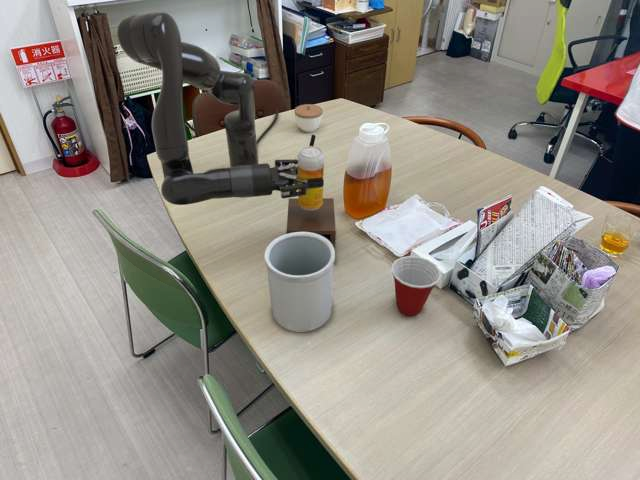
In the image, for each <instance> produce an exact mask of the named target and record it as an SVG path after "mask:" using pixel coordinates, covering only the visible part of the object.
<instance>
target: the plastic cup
mask: <svg viewBox="0 0 640 480" xmlns="http://www.w3.org/2000/svg"><path fill="white" fill-rule="evenodd" d="M391 274H392V277H393V282H394V293H395V302H396V303H395V305H396V309H397V311H398V312H399V313H400V314H401V315H404V316H406V317H415V316H416V317H417V315H419V314H420V313H421V312H422V310H423V308H424V306H425V304H426V303H427V301H428V299H429V297H430V294H431V292H432V291H433V288H434V287H435V286H436V285H437V284H438V283H439V281H440V279H441V277H442V272H441V270H440V268H439V267H438V265H437V264H436V263H434V262H433V261H431V260H430V259H428V258H424V257H422V256H415V255H408V256H401V257H399V258H397V259H395V260H394V261H393V263H392V264H391Z"/></svg>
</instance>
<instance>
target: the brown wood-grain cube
mask: <svg viewBox="0 0 640 480" xmlns="http://www.w3.org/2000/svg"><path fill="white" fill-rule="evenodd" d="M334 201H335V200H334V198H333V197H331V198H330V197H329V198H327V197H326V198H325V197H324V198H323V203H322V205H321V206H320V207H319V208H318V209H316V210H312V211H309V210H305V209H303V208H302V207H301V206H300V205H299V203H298V198H297V197H290V198H288V201H287V202H288V203H287V218H286V234H289V233H293V232H311V233H315V234H319V235H321V236H323V237H325V238H326V239H327V240H329V241H330V242H331V244H332V245H333V247H334V250H335V251H336V233H337V232H336V217H335V216H336V215H335V202H334Z"/></svg>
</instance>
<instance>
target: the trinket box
mask: <svg viewBox="0 0 640 480" xmlns="http://www.w3.org/2000/svg"><path fill="white" fill-rule="evenodd" d="M323 111H324V110H323V108H322V106H320V105H317V104H311V103H307V104H305V103H304V104H300V105H298V106H296V107H295V108H294V111H293V112H294V121H295V124H296V125H297V127H298V128H299V129H300V130H301V131H302V132H303V133H305V132H306V133H312V132H316V131H317V129H319V127H321V124H322V121H323V113H324V112H323Z"/></svg>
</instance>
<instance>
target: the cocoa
mask: <svg viewBox="0 0 640 480" xmlns="http://www.w3.org/2000/svg"><path fill="white" fill-rule="evenodd" d="M316 137H317V135H316V134H311V137H310V141H309V145H308V146H315V141H316ZM295 159H297V160H298V156H297V157H296V158H295ZM296 171H297V170H296Z"/></svg>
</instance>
